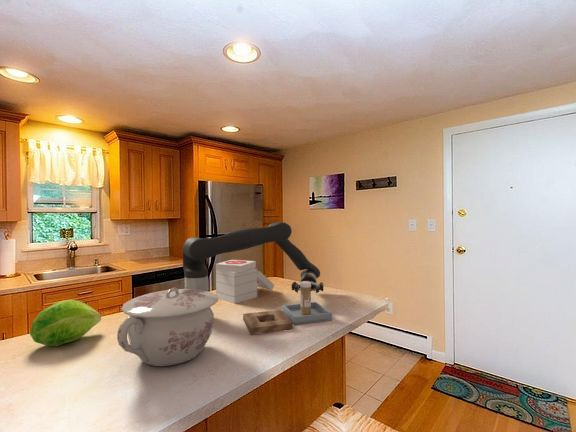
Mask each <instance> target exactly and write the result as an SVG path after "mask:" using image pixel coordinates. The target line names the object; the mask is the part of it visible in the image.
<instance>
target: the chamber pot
mask: <svg viewBox="0 0 576 432" xmlns="http://www.w3.org/2000/svg"><path fill="white" fill-rule="evenodd" d="M218 301H219V299H218V297H217V296H216V293H213V292H210V291H208V292H207V291H203V290H195V289H185V288H177V287H175V286H174V287H171V288H170V289H166V290H159V291H154V292H149V294H143V295H139V296H136V297H134V298H132V299H129V300H128V301H126V302H124V303H123V304H122V307H121V308H120V310H121V311H122V312H123V314H125V315H127V316H126V318H125V319H124V320H123V322H121V324H120V325H119V327H118V329H117V333H116V334H117V336H116V338H117V343H118V345H119V346H120V348H122V349H123V350H124V351H125V352H127V353H131V354H134V355H135V356H137V357H138V358H139V360H140V361H142V362H143V363H145V364H147V365H150V366H155V367H168V366H173V365H180V364H181V363H185V362H188V361H190V360H192V359H193V358H195V357H197V356H199V354H200V353H201V352H202V351H203V350H204V348H205V346H206V344H207V343H208V341H209V339H210V337H211V335H212V332H213V326H214V322H215V321H214V319H215V317H214V315H215V314H214V312H213V309H212V308H211V307H213V306H215V305H216V304H217V302H218ZM130 316H131V317H130Z"/></svg>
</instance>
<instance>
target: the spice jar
mask: <svg viewBox="0 0 576 432" xmlns="http://www.w3.org/2000/svg"><path fill="white" fill-rule="evenodd" d="M299 283H300V287H301V291H300V301H299V302H300V303H299V304H300V305H301V312H300V313H301V314H302V315H310V314H311V302H312V301H311V299H312V297H311V296H312V295H311V293H312V291H311V282H309V281H302V282H301V281H299Z"/></svg>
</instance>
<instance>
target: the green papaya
mask: <svg viewBox="0 0 576 432" xmlns="http://www.w3.org/2000/svg"><path fill="white" fill-rule="evenodd" d="M101 321H102V315H101V314H100V312H98V311H97V310H95V308H94V307H92V306H90V305H89V304H87V303H85V302H82V301H80V300H76V299H75V300H74V299H65V300H61V301H57V302H54V303H53V304H51V305H50V306H48V307H46V308H45V309H43V310H41V311H40V312H39V313H38V314H37V316H36V317H35V318H34V319H33V321H32V323H31V327H30V333H29V335H30V337H31V338H32V340H33V342H34V343H37V344H41V345H42V346H43V345H44V346H49V347H58V346H61V345H65V344H68V343H70V342H74V341H77V340H79V339H80V338H82V337H84V336H85V335H86V334H87V333H88V332H89V331H90V330H91V329H92V328H94V327H95V326H96V325H98V324H99V323H100V322H101Z"/></svg>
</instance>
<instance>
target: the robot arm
mask: <svg viewBox="0 0 576 432" xmlns="http://www.w3.org/2000/svg"><path fill="white" fill-rule="evenodd" d="M292 232H293V231H292V228H291V225H290V224H288V223H287V222H281V221H278V222H277V221H276V222H275V221H274V222H272V223H270V224H268V226H267V227H266V226H265V227H250V228H249V227H248V228H247V227H246V228H241V229H237V230H233V231H230V232H227V233H226V234H223V235H221V236H217V237H216V236H215V237H210V238H209V237H206V238H201V237H195V236H194V237H193V236H192V237H189V238H187V239H186V240H185V242H184V243H183V246H182V268H183V273H184V289H195V290H203V291H207V292H209V278H208V277H209V275H208V274H209V272H208V271H209V270H208V268H207V265H206V261H205V260H207V259H210V258H213V257H216V256H218V255H222V254H226V253H233V252H239V251H243V250H247V249H251V248H255V247H258V246H261V245H265V244H268V243H275V245H277V246H278V247H279V248H280V249H281V250H282V251H283V252H284V253H285V254H286V255H287V257H288V258H289V259H290V261H292V263H293V265H295V267H296V269H297V270H299V271H302V272H301V273H300V278H301V279H300V282H302V281H309V282H311V292H315V294H318V293H320V292H324V283H323V282H319V283H318V281H317V279H318V278H319V277H321V271H320V269H319V268H318V266H316V265H315V264H313V263H312V262H311V261H310V260H309V259H308V258H307V256H306V255H305V253H304V252H303V251H301V250H300V249H299V248H298V247H297V246H296V245H295V244H293V242H291V240H289V239H290V237H291V235H292ZM300 282H299V283H297V282H296V281H293V282H292V283H291V291H294V292H296V294H297V293H299V292H301V287H300Z"/></svg>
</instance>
